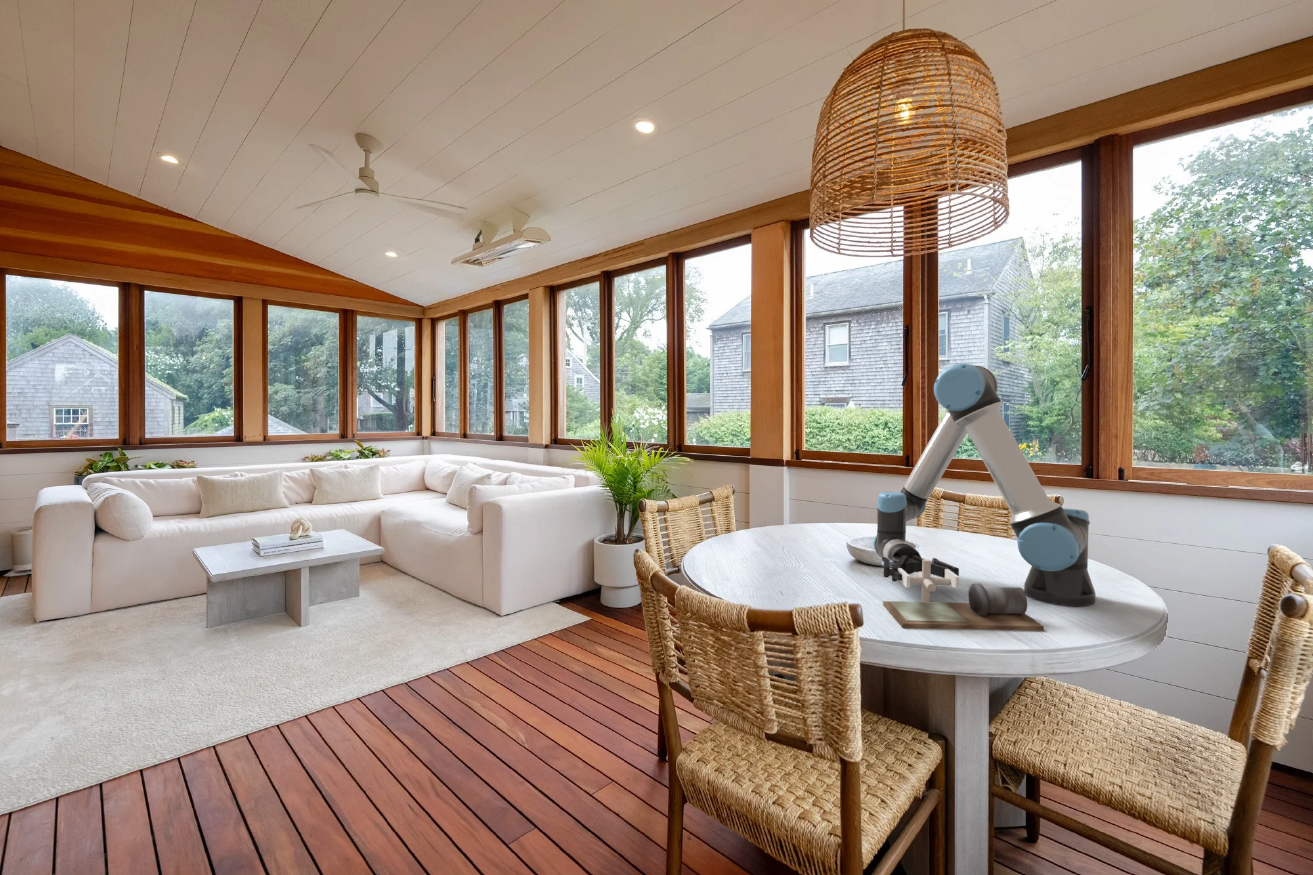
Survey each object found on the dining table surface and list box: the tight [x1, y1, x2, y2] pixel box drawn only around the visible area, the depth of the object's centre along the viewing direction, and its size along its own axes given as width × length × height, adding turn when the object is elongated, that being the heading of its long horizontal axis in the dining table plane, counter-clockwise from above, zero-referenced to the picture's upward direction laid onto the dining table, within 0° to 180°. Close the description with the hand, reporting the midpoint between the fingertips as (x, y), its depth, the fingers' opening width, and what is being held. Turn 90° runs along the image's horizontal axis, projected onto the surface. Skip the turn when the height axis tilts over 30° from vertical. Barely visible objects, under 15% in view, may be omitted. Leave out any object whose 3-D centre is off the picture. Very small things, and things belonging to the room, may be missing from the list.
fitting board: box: [882, 582, 1045, 632], centre depth 138 cm, size 30×15×8 cm, turn 85°
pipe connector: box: [909, 558, 951, 603], centre depth 139 cm, size 10×10×10 cm
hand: (932, 582), depth 135 cm, fingers closed on pipe connector, 10 cm apart
